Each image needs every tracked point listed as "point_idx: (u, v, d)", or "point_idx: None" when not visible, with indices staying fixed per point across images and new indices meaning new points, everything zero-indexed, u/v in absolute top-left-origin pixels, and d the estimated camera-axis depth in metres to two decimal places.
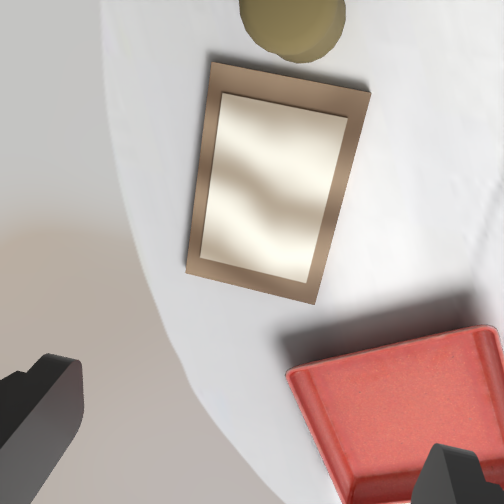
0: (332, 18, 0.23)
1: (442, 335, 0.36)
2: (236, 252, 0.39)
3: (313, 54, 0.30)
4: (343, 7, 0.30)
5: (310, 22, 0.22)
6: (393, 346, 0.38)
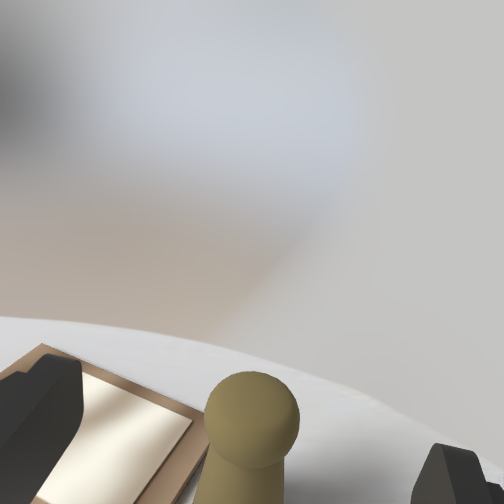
0: (225, 441, 0.22)
1: None
2: None
3: (196, 499, 0.27)
4: None
5: (228, 410, 0.23)
6: None
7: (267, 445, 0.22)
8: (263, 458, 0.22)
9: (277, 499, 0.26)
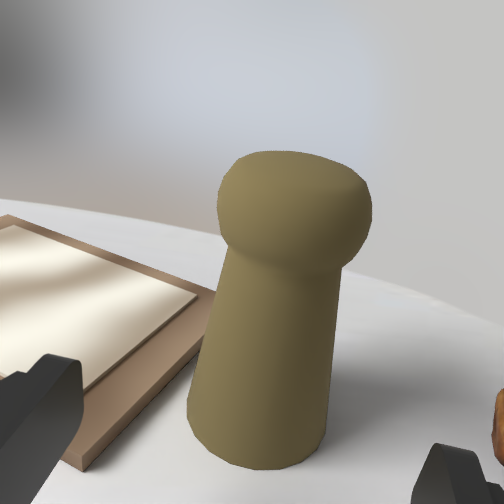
0: (253, 212, 0.13)
1: None
2: None
3: (199, 362, 0.18)
4: (253, 445, 0.16)
5: (258, 168, 0.14)
6: None
7: (324, 218, 0.13)
8: (317, 244, 0.13)
9: (327, 353, 0.16)
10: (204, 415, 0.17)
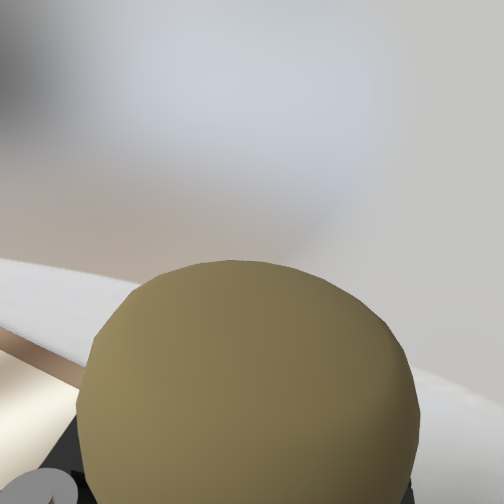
0: (127, 484, 0.05)
1: None
2: None
3: None
4: None
5: (151, 354, 0.06)
6: None
7: None
8: None
9: None
10: None
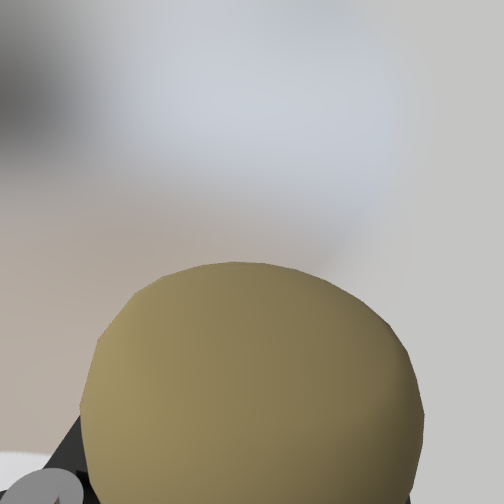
0: (131, 487, 0.05)
1: None
2: None
3: None
4: None
5: (154, 355, 0.06)
6: None
7: None
8: None
9: None
10: None
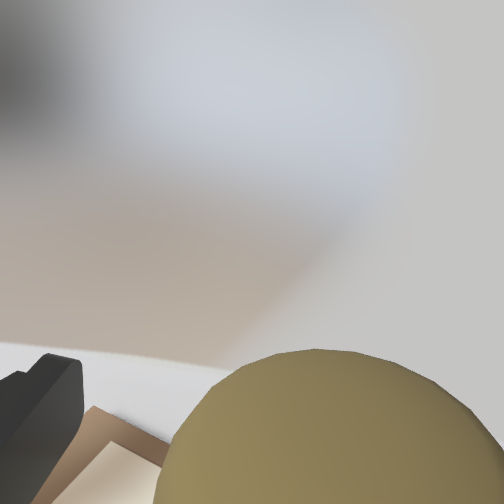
0: None
1: None
2: None
3: None
4: None
5: None
6: None
7: None
8: None
9: None
10: None
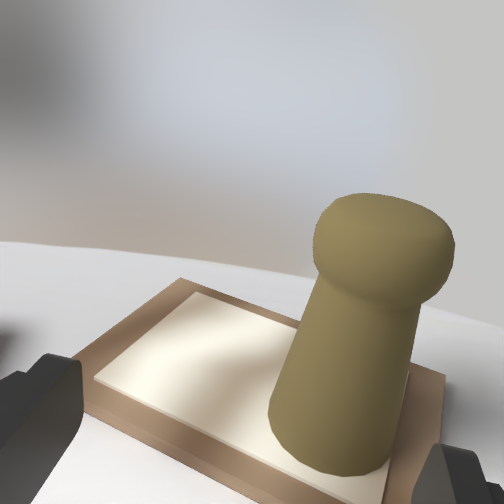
0: (361, 257, 0.15)
1: None
2: (187, 320, 0.27)
3: (285, 381, 0.20)
4: (343, 456, 0.18)
5: (361, 217, 0.15)
6: None
7: (425, 261, 0.15)
8: (417, 284, 0.15)
9: (407, 372, 0.18)
10: (294, 430, 0.19)
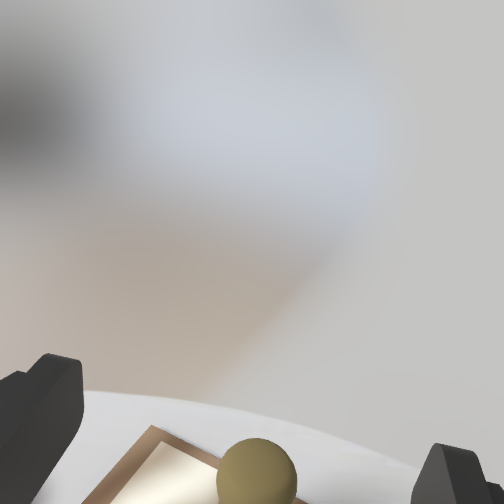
0: None
1: None
2: (152, 473, 0.38)
3: None
4: None
5: (237, 477, 0.27)
6: None
7: None
8: None
9: None
10: None
